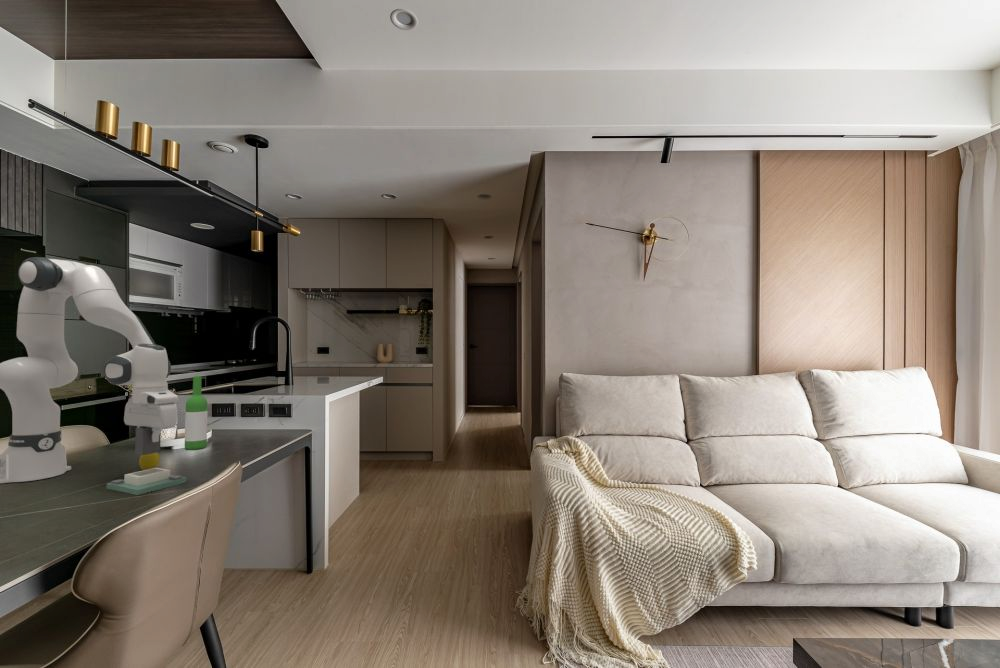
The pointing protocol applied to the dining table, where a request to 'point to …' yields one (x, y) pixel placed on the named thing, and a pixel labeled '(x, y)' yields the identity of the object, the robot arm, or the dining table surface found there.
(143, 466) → the lemon
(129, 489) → the header board
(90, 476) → the dining table surface
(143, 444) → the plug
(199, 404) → the wine bottle
